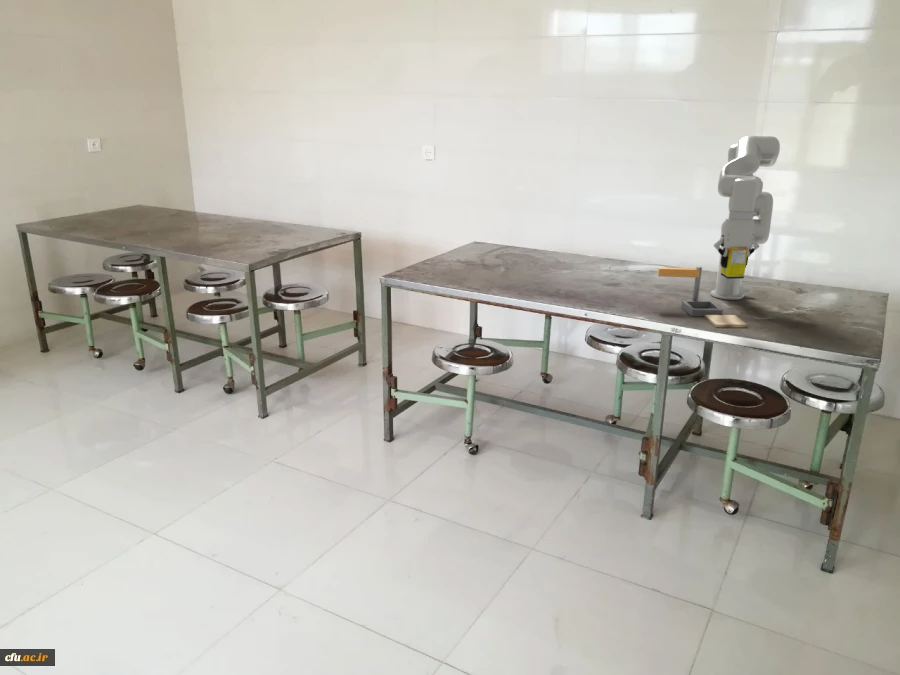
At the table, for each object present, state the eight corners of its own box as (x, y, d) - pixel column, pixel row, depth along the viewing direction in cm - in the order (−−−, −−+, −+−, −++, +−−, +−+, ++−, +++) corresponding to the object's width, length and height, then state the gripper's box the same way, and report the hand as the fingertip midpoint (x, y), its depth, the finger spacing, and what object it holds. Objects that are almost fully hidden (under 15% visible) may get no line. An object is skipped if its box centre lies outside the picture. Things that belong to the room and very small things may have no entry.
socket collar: (710, 306, 261) (711, 300, 260) (722, 316, 250) (723, 309, 249) (681, 307, 261) (682, 300, 260) (691, 316, 250) (692, 309, 249)
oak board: (734, 317, 248) (734, 314, 248) (746, 327, 238) (747, 324, 238) (704, 317, 248) (704, 314, 248) (715, 327, 238) (716, 324, 237)
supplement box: (736, 274, 240) (741, 244, 237) (744, 278, 235) (748, 247, 231) (720, 274, 240) (724, 244, 236) (727, 279, 234) (731, 248, 231)
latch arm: (696, 304, 263) (701, 266, 258) (697, 305, 261) (702, 267, 256) (654, 302, 265) (658, 265, 260) (655, 304, 263) (659, 266, 258)
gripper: (761, 213, 234) (753, 264, 240) (711, 213, 234) (704, 264, 240) (771, 217, 227) (762, 269, 233) (719, 217, 227) (712, 269, 233)
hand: (733, 266), depth 236 cm, fingers closed on supplement box, 6 cm apart
